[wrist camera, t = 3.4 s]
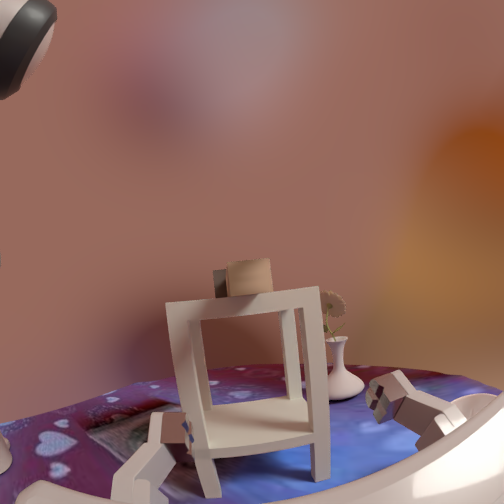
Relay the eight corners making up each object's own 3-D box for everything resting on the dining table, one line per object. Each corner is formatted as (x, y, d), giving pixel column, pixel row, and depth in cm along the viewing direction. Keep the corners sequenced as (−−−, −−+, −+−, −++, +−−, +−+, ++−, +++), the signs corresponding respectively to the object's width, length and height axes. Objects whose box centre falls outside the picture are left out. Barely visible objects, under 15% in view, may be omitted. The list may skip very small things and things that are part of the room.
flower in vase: (374, 392, 50) (367, 283, 53) (332, 409, 46) (322, 290, 50) (342, 381, 62) (334, 288, 66) (304, 393, 59) (294, 294, 62)
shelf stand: (205, 498, 22) (165, 302, 26) (209, 448, 36) (184, 301, 40) (330, 478, 24) (318, 285, 28) (302, 435, 38) (288, 290, 42)
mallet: (209, 298, 18) (204, 249, 19) (216, 298, 37) (213, 273, 37) (293, 288, 19) (287, 241, 20) (259, 293, 37) (256, 268, 38)
